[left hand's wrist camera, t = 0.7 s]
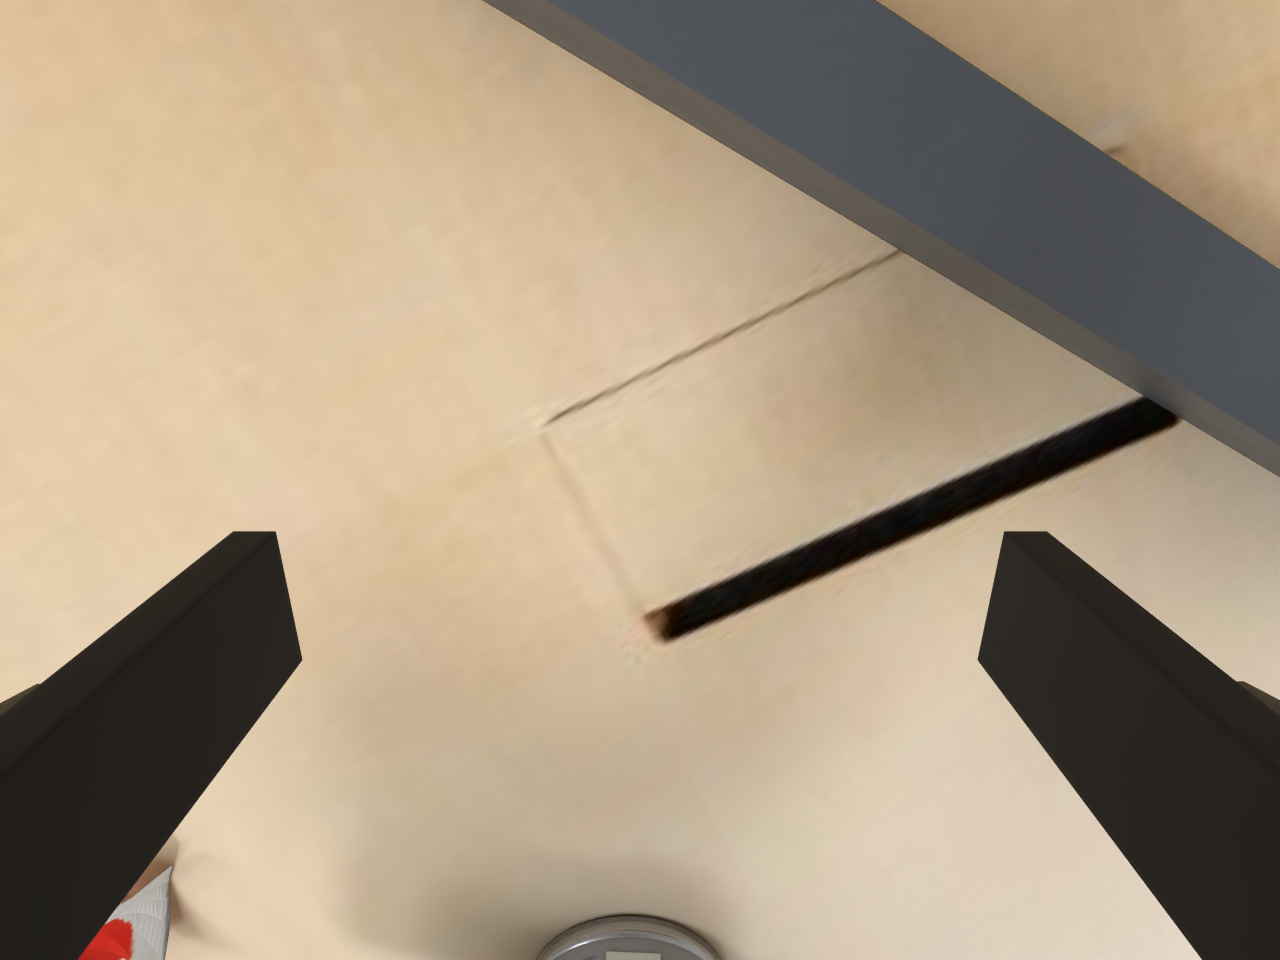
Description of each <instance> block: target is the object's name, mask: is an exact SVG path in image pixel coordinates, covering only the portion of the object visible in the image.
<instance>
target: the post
mask: <svg viewBox="0 0 1280 960" xmlns="http://www.w3.org/2000/svg"><path fill="white" fill-rule="evenodd" d="M483 1H485V2H486V3H488V4H490V5H491V6H493V7H495V8H496V9H498V10H500V11H501V12H503V13H505V14H506V15H508V16H510V17H511V18H513V19H515V20H516V21H518V22H520V23H521V24H523V25H525V26H526V27H528V28H530V29H531V30H533V31H535V32H536V33H538V34H540V35H541V36H543V37H545V38H546V39H548V40H550V41H551V42H553V43H555V44H557V45H558V46H560V47H562V48H563V49H565V50H567V51H568V52H570V53H572V54H573V55H575V56H577V57H578V58H580V59H582V60H583V61H585V62H587V63H588V64H590V65H592V66H593V67H595V68H597V69H598V70H600V71H602V72H603V73H605V74H607V75H608V76H610V77H612V78H613V79H615V80H617V81H618V82H620V83H622V84H623V85H625V86H627V87H628V88H630V89H632V90H633V91H635V92H637V93H638V94H640V95H642V96H643V97H645V98H647V99H649V100H650V101H652V102H654V103H655V104H657V105H659V106H660V107H662V108H664V109H665V110H667V111H669V112H670V113H672V114H674V115H675V116H677V117H679V118H680V119H682V120H684V121H685V122H687V123H689V124H690V125H692V126H694V127H695V128H697V129H699V130H700V131H702V132H704V133H705V134H707V135H709V136H710V137H712V138H714V139H715V140H717V141H719V142H720V143H722V144H724V145H725V146H727V147H729V148H730V149H732V150H734V151H735V152H737V153H739V154H741V155H742V156H744V157H746V158H747V159H749V160H751V161H752V162H754V163H756V164H757V165H759V166H761V167H762V168H764V169H766V170H767V171H769V172H771V173H772V174H774V175H776V176H777V177H779V178H781V179H782V180H784V181H786V182H787V183H789V184H791V185H792V186H794V187H796V188H797V189H799V190H801V191H802V192H804V193H806V194H807V195H809V196H811V197H812V198H814V199H816V200H817V201H819V202H821V203H822V204H824V205H826V206H827V207H829V208H831V209H833V210H834V211H836V212H838V213H839V214H841V215H843V216H844V217H846V218H848V219H849V220H851V221H853V222H854V223H856V224H858V225H859V226H861V227H863V228H864V229H866V230H868V231H869V232H871V233H873V234H874V235H876V236H878V237H879V238H881V239H883V240H884V241H886V242H888V243H889V244H891V245H893V246H894V247H896V248H898V249H899V250H901V251H903V252H904V253H906V254H908V255H909V256H911V257H913V258H914V259H916V260H918V261H919V262H921V263H923V264H925V265H926V266H928V267H930V268H931V269H933V270H935V271H936V272H938V273H940V274H941V275H943V276H945V277H946V278H948V279H950V280H951V281H953V282H955V283H956V284H958V285H960V286H961V287H963V288H965V289H966V290H968V291H970V292H971V293H973V294H975V295H976V296H978V297H980V298H981V299H983V300H985V301H986V302H988V303H990V304H991V305H993V306H995V307H996V308H998V309H1000V310H1001V311H1003V312H1005V313H1006V314H1008V315H1010V316H1011V317H1013V318H1015V319H1017V320H1018V321H1020V322H1022V323H1023V324H1025V325H1027V326H1028V327H1030V328H1032V329H1033V330H1035V331H1037V332H1038V333H1040V334H1042V335H1043V336H1045V337H1047V338H1048V339H1050V340H1052V341H1053V342H1055V343H1057V344H1058V345H1060V346H1062V347H1063V348H1065V349H1067V350H1068V351H1070V352H1072V353H1073V354H1075V355H1077V356H1078V357H1080V358H1082V359H1083V360H1085V361H1087V362H1088V363H1090V364H1092V365H1093V366H1095V367H1097V368H1098V369H1100V370H1102V371H1103V372H1105V373H1107V374H1109V375H1110V376H1112V377H1114V378H1115V379H1117V380H1119V381H1120V382H1122V383H1124V384H1125V385H1127V386H1129V387H1130V388H1132V389H1134V390H1135V391H1137V392H1139V393H1140V394H1142V395H1144V396H1145V397H1147V398H1149V399H1150V400H1152V401H1154V402H1155V403H1157V404H1159V405H1160V406H1162V407H1164V408H1165V409H1167V410H1169V411H1170V412H1172V413H1174V414H1175V415H1177V416H1179V417H1180V418H1182V419H1184V420H1185V421H1187V422H1189V423H1190V424H1192V425H1194V426H1195V427H1197V428H1199V429H1201V430H1202V431H1204V432H1206V433H1207V434H1209V435H1211V436H1212V437H1214V438H1216V439H1217V440H1219V441H1221V442H1222V443H1224V444H1226V445H1227V446H1229V447H1231V448H1232V449H1234V450H1236V451H1237V452H1239V453H1241V454H1242V455H1244V456H1246V457H1247V458H1249V459H1251V460H1252V461H1254V462H1256V463H1257V464H1259V465H1261V466H1262V467H1264V468H1266V469H1267V470H1269V471H1271V472H1272V473H1274V474H1276V475H1277V476H1279V477H1280V269H1278V268H1277V267H1275V266H1274V265H1272V264H1271V263H1269V262H1268V261H1266V260H1265V259H1263V258H1262V257H1260V256H1259V255H1257V254H1256V253H1254V252H1253V251H1251V250H1250V249H1248V248H1247V247H1245V246H1244V245H1242V244H1241V243H1239V242H1238V241H1236V240H1235V239H1233V238H1232V237H1230V236H1229V235H1227V234H1226V233H1224V232H1223V231H1221V230H1220V229H1218V228H1217V227H1215V226H1214V225H1212V224H1211V223H1209V222H1208V221H1206V220H1205V219H1203V218H1202V217H1200V216H1199V215H1197V214H1196V213H1194V212H1193V211H1191V210H1190V209H1188V208H1187V207H1185V206H1184V205H1182V204H1181V203H1179V202H1178V201H1176V200H1175V199H1173V198H1172V197H1170V196H1169V195H1167V194H1166V193H1164V192H1163V191H1161V190H1160V189H1158V188H1157V187H1155V186H1154V185H1152V184H1151V183H1149V182H1148V181H1146V180H1145V179H1143V178H1142V177H1140V176H1139V175H1137V174H1136V173H1134V172H1133V171H1131V170H1130V169H1128V168H1127V167H1125V166H1124V165H1122V164H1121V163H1119V162H1118V161H1116V160H1115V159H1113V158H1112V157H1110V156H1109V155H1107V154H1106V153H1104V152H1103V151H1101V150H1100V149H1098V148H1097V147H1095V146H1094V145H1092V144H1091V143H1089V142H1088V141H1086V140H1085V139H1083V138H1082V137H1080V136H1079V135H1077V134H1076V133H1074V132H1073V131H1071V130H1070V129H1068V128H1067V127H1065V126H1064V125H1062V124H1061V123H1059V122H1058V121H1056V120H1055V119H1053V118H1052V117H1050V116H1049V115H1047V114H1046V113H1044V112H1043V111H1041V110H1040V109H1038V108H1037V107H1035V106H1034V105H1032V104H1031V103H1029V102H1028V101H1026V100H1025V99H1023V98H1022V97H1020V96H1019V95H1017V94H1016V93H1014V92H1013V91H1011V90H1010V89H1008V88H1007V87H1005V86H1004V85H1002V84H1001V83H999V82H998V81H996V80H995V79H993V78H992V77H990V76H989V75H987V74H985V73H984V72H982V71H981V70H979V69H978V68H976V67H975V66H973V65H972V64H970V63H969V62H967V61H966V60H964V59H963V58H961V57H960V56H958V55H957V54H955V53H954V52H952V51H951V50H949V49H948V48H946V47H945V46H943V45H942V44H940V43H939V42H937V41H936V40H934V39H933V38H931V37H930V36H928V35H927V34H925V33H924V32H922V31H921V30H919V29H918V28H916V27H915V26H913V25H912V24H910V23H909V22H907V21H906V20H904V19H903V18H901V17H900V16H898V15H897V14H895V13H894V12H892V11H891V10H889V9H888V8H886V7H885V6H883V5H882V4H880V3H879V2H877V1H876V0H483Z"/></svg>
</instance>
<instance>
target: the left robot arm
mask: <svg viewBox="0 0 1280 960" xmlns="http://www.w3.org/2000/svg"><path fill="white" fill-rule="evenodd" d="M301 661H302V656H301V651H300V646H299V641H298V636H297V631H296V627H295V622H294V617H293V612H292V607H291V603H290V598H289V593H288V588H287V583H286V578H285V574H284V569H283V564H282V559H281V554H280V550H279V545H278V540H277V535H276V531H233V532H232V533H231V534H229V535H228V536H227V537H226V538H224V539H223V540H222V541H221V542H219V543H218V544H217V545H216V546H214V547H213V548H212V549H210V550H209V551H208V552H207V553H205V554H204V555H203V556H202V557H200V558H199V559H198V560H197V561H195V562H194V563H193V564H192V565H190V566H189V567H188V568H186V569H185V570H184V571H183V572H181V573H180V574H179V575H178V576H176V577H175V578H174V579H173V580H171V581H170V582H169V583H168V584H166V585H165V586H164V587H162V588H161V589H160V590H159V591H157V592H156V593H155V594H154V595H152V596H151V597H150V598H149V599H147V600H146V601H145V602H144V603H142V604H141V605H140V606H139V607H137V608H136V609H135V610H133V611H132V612H131V613H130V614H128V615H127V616H126V617H125V618H123V619H122V620H121V621H120V622H118V623H117V624H116V625H115V626H113V627H112V628H111V629H109V630H108V631H107V632H106V633H104V634H103V635H102V636H101V637H99V638H98V639H97V640H96V641H94V642H93V643H92V644H91V645H89V646H88V647H87V648H85V649H84V650H83V651H82V652H80V653H79V654H78V655H77V656H75V657H74V658H73V659H72V660H70V661H69V662H68V663H67V664H65V665H64V666H63V667H61V668H60V669H59V670H58V671H56V672H55V673H54V674H53V675H51V676H50V677H49V678H48V679H46V680H45V681H44V682H43V683H41V684H36V685H34V686H32V687H30V688H28V689H26V690H25V691H23V692H21V693H19V694H17V695H15V696H13V697H11V698H9V699H7V700H6V701H4V702H2V703H0V960H78V959H79V958H80V956H81V955H82V954H83V952H84V951H85V950H86V948H87V947H88V946H89V944H90V943H91V942H92V940H93V939H94V937H95V936H96V935H97V933H98V932H99V931H100V929H101V928H102V927H103V925H104V924H105V923H106V921H107V920H108V919H109V917H110V916H111V915H112V913H113V912H114V911H115V909H116V908H117V907H118V905H119V904H120V903H121V901H122V900H123V899H124V897H125V896H126V895H127V893H128V892H129V891H130V889H131V888H132V887H133V885H134V884H135V883H136V881H137V880H138V879H139V877H140V876H141V875H142V873H143V872H144V871H145V869H146V868H147V867H148V865H149V864H150V863H151V861H152V860H153V859H154V857H155V856H156V855H157V853H158V852H159V851H160V849H161V848H162V847H163V845H164V844H165V843H166V841H167V840H168V839H169V837H170V836H171V835H172V833H173V832H174V831H175V829H176V828H177V827H178V825H179V824H180V823H181V821H182V820H183V819H184V817H185V816H186V815H187V813H188V812H189V811H190V809H191V808H192V807H193V805H194V804H195V803H196V801H197V800H198V799H199V797H200V796H201V795H202V793H203V792H204V791H205V789H206V788H207V787H208V785H209V784H210V783H211V781H212V780H213V779H214V777H215V776H216V775H217V773H218V772H219V771H220V769H221V768H222V767H223V765H224V764H225V763H226V761H227V760H228V759H229V757H230V756H231V755H232V753H233V752H234V751H235V749H236V748H237V747H238V745H239V744H240V743H241V741H242V740H243V739H244V737H245V736H246V735H247V733H248V732H249V731H250V729H251V728H252V727H253V725H254V724H255V723H256V721H257V720H258V719H259V717H260V716H261V715H262V713H263V712H264V711H265V709H266V708H267V707H268V705H269V704H270V703H271V701H272V700H273V699H274V697H275V696H276V695H277V693H278V692H279V691H280V689H281V688H282V687H283V685H284V684H285V683H286V681H287V680H288V679H289V677H290V676H291V675H292V673H293V672H294V671H295V669H296V668H297V667H298V665H299V664H300V663H301ZM978 661H979V663H980V664H981V665H982V667H983V668H984V669H985V671H986V672H987V673H988V675H989V676H990V677H991V679H992V680H993V681H994V683H995V684H996V685H997V687H998V688H999V689H1000V691H1001V692H1002V693H1003V695H1004V696H1005V697H1006V699H1007V700H1008V701H1009V703H1010V704H1011V705H1012V707H1013V708H1014V709H1015V711H1016V712H1017V713H1018V715H1019V716H1020V717H1021V719H1022V720H1023V721H1024V723H1025V724H1026V725H1027V727H1028V728H1029V729H1030V731H1031V732H1032V733H1033V735H1034V736H1035V737H1036V739H1037V740H1038V741H1039V743H1040V744H1041V745H1042V747H1043V748H1044V749H1045V751H1046V752H1047V753H1048V755H1049V756H1050V757H1051V759H1052V760H1053V761H1054V763H1055V764H1056V765H1057V767H1058V768H1059V769H1060V771H1061V772H1062V773H1063V775H1064V776H1065V777H1066V779H1067V780H1068V781H1069V783H1070V784H1071V785H1072V787H1073V788H1074V789H1075V791H1076V792H1077V793H1078V795H1079V796H1080V797H1081V799H1082V800H1083V801H1084V803H1085V804H1086V805H1087V807H1088V808H1089V809H1090V811H1091V812H1092V813H1093V815H1094V816H1095V817H1096V819H1097V820H1098V821H1099V823H1100V824H1101V825H1102V827H1103V828H1104V829H1105V831H1106V832H1107V833H1108V835H1109V836H1110V837H1111V839H1112V840H1113V841H1114V843H1115V844H1116V845H1117V847H1118V848H1119V849H1120V851H1121V852H1122V853H1123V855H1124V856H1125V857H1126V859H1127V860H1128V861H1129V863H1130V864H1131V865H1132V867H1133V868H1134V869H1135V871H1136V872H1137V873H1138V875H1139V876H1140V877H1141V879H1142V880H1143V881H1144V883H1145V884H1146V885H1147V887H1148V888H1149V889H1150V891H1151V892H1152V893H1153V895H1154V896H1155V897H1156V899H1157V900H1158V901H1159V903H1160V904H1161V905H1162V907H1163V908H1164V909H1165V911H1166V912H1167V913H1168V915H1169V916H1170V917H1171V919H1172V920H1173V921H1174V923H1175V924H1176V925H1177V927H1178V928H1179V929H1180V931H1181V932H1182V933H1183V935H1184V936H1185V937H1186V939H1187V940H1188V942H1189V943H1190V944H1191V946H1192V947H1193V948H1194V950H1195V951H1196V952H1197V954H1198V955H1199V956H1200V958H1201V959H1202V960H1280V700H1278V699H1276V698H1275V697H1273V696H1271V695H1269V694H1267V693H1265V692H1263V691H1261V690H1259V689H1257V688H1255V687H1254V686H1252V685H1250V684H1248V683H1246V682H1244V681H1235V680H1234V679H1232V678H1231V677H1230V676H1229V675H1227V674H1226V673H1225V672H1224V671H1222V670H1221V669H1220V668H1219V667H1217V666H1216V665H1215V664H1213V663H1212V662H1211V661H1210V660H1208V659H1207V658H1206V657H1205V656H1203V655H1202V654H1201V653H1200V652H1198V651H1197V650H1196V649H1195V648H1193V647H1192V646H1191V645H1189V644H1188V643H1187V642H1186V641H1184V640H1183V639H1182V638H1181V637H1179V636H1178V635H1177V634H1176V633H1174V632H1173V631H1172V630H1171V629H1169V628H1168V627H1167V626H1165V625H1164V624H1163V623H1162V622H1160V621H1159V620H1158V619H1157V618H1155V617H1154V616H1153V615H1152V614H1150V613H1149V612H1148V611H1147V610H1145V609H1144V608H1143V607H1141V606H1140V605H1139V604H1138V603H1136V602H1135V601H1134V600H1133V599H1131V598H1130V597H1129V596H1128V595H1126V594H1125V593H1124V592H1123V591H1121V590H1120V589H1119V588H1118V587H1116V586H1115V585H1114V584H1112V583H1111V582H1110V581H1109V580H1107V579H1106V578H1105V577H1104V576H1102V575H1101V574H1100V573H1099V572H1097V571H1096V570H1095V569H1094V568H1092V567H1091V566H1090V565H1088V564H1087V563H1086V562H1085V561H1083V560H1082V559H1081V558H1080V557H1078V556H1077V555H1076V554H1075V553H1073V552H1072V551H1071V550H1070V549H1068V548H1067V547H1066V546H1064V545H1063V544H1062V543H1061V542H1059V541H1058V540H1057V539H1056V538H1054V537H1053V536H1052V535H1051V534H1049V533H1048V532H1047V531H1004V535H1003V540H1002V545H1001V550H1000V554H999V559H998V564H997V569H996V574H995V578H994V583H993V588H992V593H991V598H990V603H989V607H988V612H987V617H986V622H985V627H984V631H983V636H982V641H981V646H980V651H979V656H978ZM537 960H720V958H719V957H718V955H717V954H716V952H715V951H714V950H713V949H712V948H711V946H710V945H708V944H707V943H706V942H705V941H704V940H703V939H701V938H700V937H699V936H697V935H696V934H694V933H692V932H691V931H689V930H687V929H685V928H683V927H681V926H678V925H676V924H673V923H670V922H666V921H663V920H658V919H653V918H647V917H637V916H621V917H610V918H603V919H598V920H594V921H590V922H587V923H584V924H581V925H578V926H576V927H574V928H572V929H569V930H568V931H566V932H564V933H562V934H561V935H559V936H558V937H557V938H555V939H554V940H553V941H552V942H550V943H549V944H548V945H547V946H546V947H545V948H544V950H543V951H542V952H541V954H540V955H539V957H538V958H537Z"/></svg>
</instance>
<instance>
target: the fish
mask: <svg viewBox="0 0 1280 960" xmlns="http://www.w3.org/2000/svg"><path fill="white" fill-rule="evenodd" d="M172 868H173V865H172V866H170V867H169V868H168V869H166V870H165V871H164V872H163V873H161V874H160V875H159V876H157V877H156V878H155V879H154V880H153V881H151V882H150V883H149V884H148V885H147V886H145V887H144V888H143V889H142V890H141V891H139V892H138V893H137V894H136V895H135V896H133V897H132V898H130V899H129V900H127V901H125V902H124V903H122V904H120V905H119V906H118V907H117V908H116V909H115V911H114V912H113V913H112V915H111V916H110V917H109V919H108V920H107V921H106V923H105V924H104V925H103V927H102V928H101V929H100V931H99V932H98V933H97V935H96V936H95V937H94V939H93V940H92V942H91V943H90V944H89V946H88V947H87V948H86V950H85V951H84V952H83V954H82V955H81V956H80V958H79V959H78V960H165V955H166V949H167V942H168V935H169V928H170V915H169V880H170V877H171V873H172Z"/></svg>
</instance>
